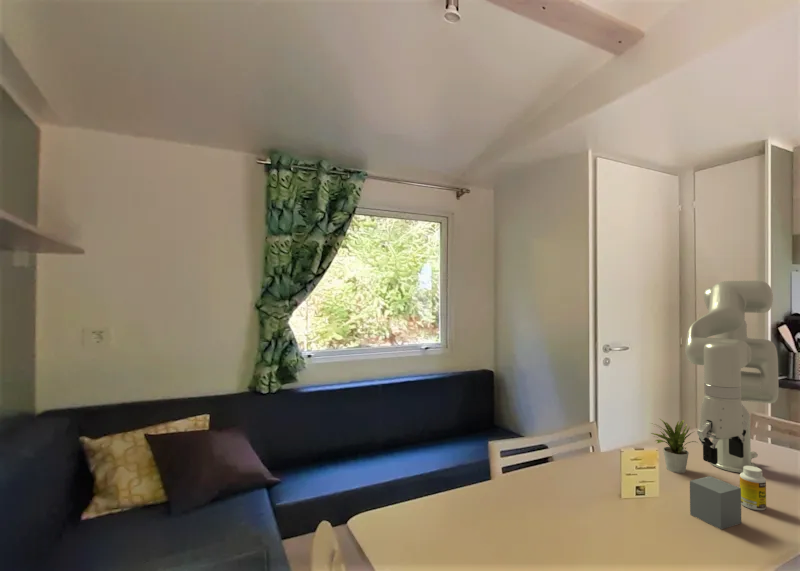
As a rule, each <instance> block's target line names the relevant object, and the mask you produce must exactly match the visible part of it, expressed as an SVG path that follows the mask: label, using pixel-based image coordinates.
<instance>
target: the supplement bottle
mask: <svg viewBox="0 0 800 571" xmlns="http://www.w3.org/2000/svg"><path fill="white" fill-rule="evenodd" d="M739 488H741V506H743V507H745V508H747V509H750V510H754V511H764V510H766V508H767V479H766V478H765V476H763V469H761V468H759V467H758V466H757V467H754V466H744V467H743V472H742V473H739Z"/></svg>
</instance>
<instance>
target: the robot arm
mask: <svg viewBox="0 0 800 571" xmlns="http://www.w3.org/2000/svg"><path fill="white" fill-rule="evenodd" d="M773 300H774V298H773V290H772V288H771V286H770V284H768V282H765V281H763V280H725V281H720V282H717V283H715V284H714V285H713V286H711V287H708V288H706V289H705V290H704V292H703V301H704V304H705V306H706V308H707V311H708V313H706V314H704V315H702V316H701V317H699V318H698V319H697V320H695V321H693V323H691V325H690V326H689V328H688V330H687V334H686V340H685V346H684V348H685V349H684V351H685V353H684V354H685V357H686V360H687V361H688V362H690V363H691V364H693V365H697V366H703V386H704V389H703V390H704V396H702V400H701V401H702V402H701V406H700V415H699V416H700V417H699V418H700V420H699V428H698V429H697V431H696V432H697V436H698V439H699V442H700V443H701V445H702V459H703V461H705V462H707V463H710V464H711V465H712V466H714V467H716V468H718V469H721V470H725V471H728V472H732V473H739V474H740V473H742V472H743V467H744V466H754V467H757V468H758V466H757V464H755V463H754V462H752V459H756V458H758V456H759V455H758V453H757V451H751V450H752V449H751V447H752V446H751V416H750V412H749V410H748V409H747V408H746V407H745V406H744V404H742V402H752V403H758V404H759V403H760V404H774V403H776V402H777V401H778V398H779V394H780V393H779V391H780V389H779V388H780V387H779V358H778V349H777V347H776V346H777V345H775V343H774V342H773V341H771V340H769V339H766V338H765V339H764V338H750V337H748V329H747V328H748V324H747V321H746V319H745V318H746V317H745V316H746V315H745V313H753V314H755V313H756V314H759V313H761V314H763V313H768V312H769V311H770V310H771V308H772V305H773V302H774V301H773ZM743 368H748V369H750V368H751V369H755V370H758V371H759V372H757V371H747V370H741V369H743ZM711 439H712V441H711Z"/></svg>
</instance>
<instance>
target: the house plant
mask: <svg viewBox="0 0 800 571" xmlns="http://www.w3.org/2000/svg"><path fill="white" fill-rule="evenodd" d="M659 420H660V421H661V422H662V423H663V425H664V427H665V428H662V426H660V425H659V424H656V423H654V425H655V426H656V427H657V428H659V429H661V431H659V432H660V433H661V434H659V433H656V432H655V433H654V432H650V434H652V435H654V436H653V438H657V439H655V441H654V442H656V444H660V443H666V445H667V446H664V447H663V448H662V449H663V450H662V451H663V456H664V461H665V466H666V470H667V471H669V472H673V473H676V474H685V473H686V471H687V465H688V458H689V454H690V453H689V451H688V450H687V447H685V446H686V445H687V444H689V443H698V444H699V442H698V441H695V440H692V441H688V442H687V443H685V440H686V439H687V438H688V437H689V436H691V434H693V433H695V432H696V431H692V432H690V431H689V430H690V428H691V426H689V427H688V428H687V426H688V423H686V425H685V426H684V428H683V425H684V423H685V421H686V420H685V419H683V420H681V421H680V422H679V420H678V421H677V422H676V425H675V427H674V429H673V428H672V426H671V425H670V424H669V423H668V422H665V421H664V420H663V419H662V418H659ZM650 424H652V425H653V423H651V422H650ZM682 429H683V430H682ZM681 431H682V432H681ZM688 432H690V433H689V434H688ZM666 434H667V435H666ZM659 438H661V439H659ZM662 439H663V440H662Z"/></svg>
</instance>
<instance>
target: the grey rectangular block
mask: <svg viewBox="0 0 800 571" xmlns="http://www.w3.org/2000/svg"><path fill="white" fill-rule="evenodd" d="M689 508H690V509H689V511H690V512H689V513H690V516H692V517H694V518H696V517H697V518H696V519H698V518H699V520H700V519H701V521H702V520H703V522H704V523H707V524H709V525H712V527H715V528H716V529H719V530H724V529H728V528H731V527H733V526H737V525H740V524H742V504H741V488H740V486H737V485H733V484H732V483H729V482H727V481H723V480H721V479H718V478H716V477H713V476H710V475H709V476H704V477H700V478H696V479H692V480H689Z"/></svg>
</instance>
